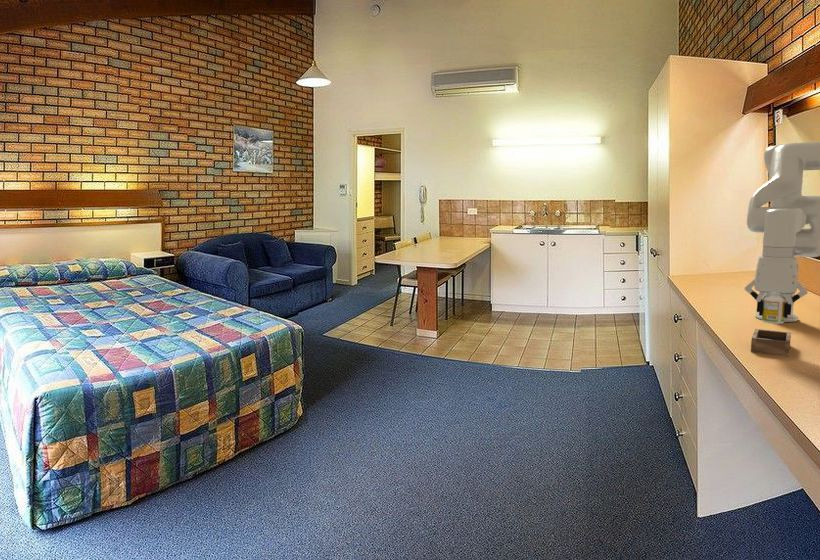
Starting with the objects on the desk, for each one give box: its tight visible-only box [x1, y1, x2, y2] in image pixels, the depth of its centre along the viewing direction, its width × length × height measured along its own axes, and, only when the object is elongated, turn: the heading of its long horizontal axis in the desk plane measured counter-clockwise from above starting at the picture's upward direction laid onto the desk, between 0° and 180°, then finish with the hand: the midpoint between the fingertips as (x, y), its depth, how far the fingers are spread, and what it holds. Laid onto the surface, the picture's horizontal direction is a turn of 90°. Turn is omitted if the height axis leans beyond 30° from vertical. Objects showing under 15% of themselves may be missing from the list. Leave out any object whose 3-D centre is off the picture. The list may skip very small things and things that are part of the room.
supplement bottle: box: [761, 292, 786, 325], centre depth 159 cm, size 5×5×10 cm
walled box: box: [750, 328, 792, 357], centre depth 160 cm, size 12×9×4 cm
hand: (773, 315), depth 159 cm, fingers closed on supplement bottle, 5 cm apart
